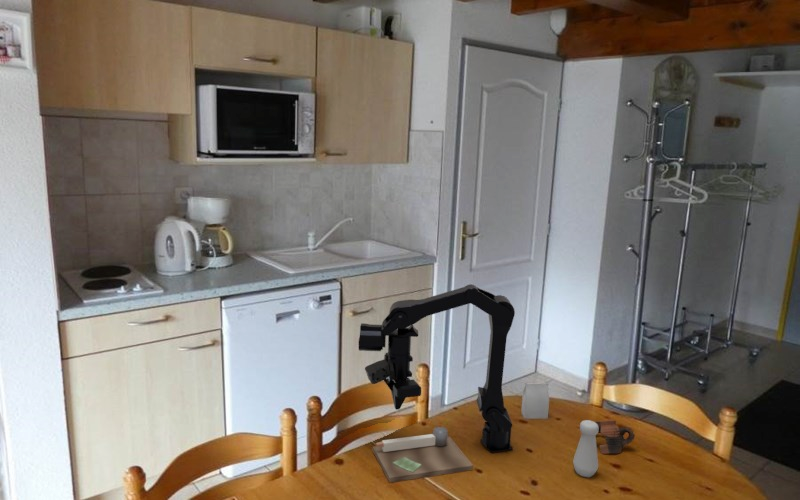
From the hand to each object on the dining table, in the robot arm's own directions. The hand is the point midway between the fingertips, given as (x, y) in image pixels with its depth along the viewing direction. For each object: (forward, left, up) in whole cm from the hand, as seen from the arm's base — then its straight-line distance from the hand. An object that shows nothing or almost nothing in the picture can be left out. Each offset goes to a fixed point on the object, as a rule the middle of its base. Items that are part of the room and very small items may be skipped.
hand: (397, 408), depth 151 cm
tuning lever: (-2, +6, -8) cm, 10 cm away
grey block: (-44, -5, -10) cm, 45 cm away
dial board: (-3, +10, -9) cm, 14 cm away
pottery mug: (-54, +16, -10) cm, 57 cm away
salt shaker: (-40, +25, -9) cm, 48 cm away
